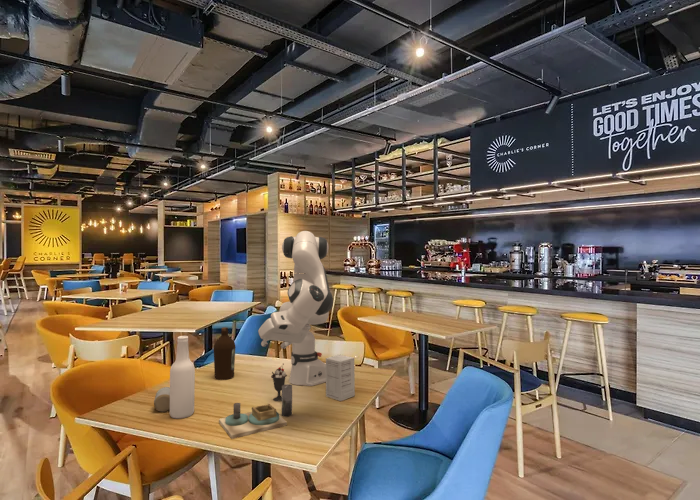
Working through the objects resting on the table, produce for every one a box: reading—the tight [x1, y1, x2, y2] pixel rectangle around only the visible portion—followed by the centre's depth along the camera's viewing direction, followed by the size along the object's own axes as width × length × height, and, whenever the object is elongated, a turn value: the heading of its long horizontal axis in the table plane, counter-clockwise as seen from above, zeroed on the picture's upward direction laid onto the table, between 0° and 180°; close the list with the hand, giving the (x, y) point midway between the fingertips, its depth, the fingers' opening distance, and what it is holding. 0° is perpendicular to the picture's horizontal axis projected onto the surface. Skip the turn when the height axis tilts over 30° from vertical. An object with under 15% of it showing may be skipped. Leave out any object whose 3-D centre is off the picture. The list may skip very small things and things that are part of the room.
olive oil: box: [213, 326, 236, 381], centre depth 200 cm, size 11×11×25 cm
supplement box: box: [325, 354, 356, 402], centre depth 173 cm, size 10×9×17 cm
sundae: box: [271, 363, 288, 402], centre depth 169 cm, size 7×7×15 cm
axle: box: [281, 383, 293, 418], centre depth 152 cm, size 4×4×11 cm
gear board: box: [218, 402, 288, 440], centre depth 144 cm, size 20×16×7 cm
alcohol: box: [169, 335, 196, 420], centre depth 153 cm, size 9×9×30 cm
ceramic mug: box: [153, 386, 170, 413], centre depth 159 cm, size 11×8×8 cm
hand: (272, 346), depth 153 cm, fingers open, 8 cm apart
